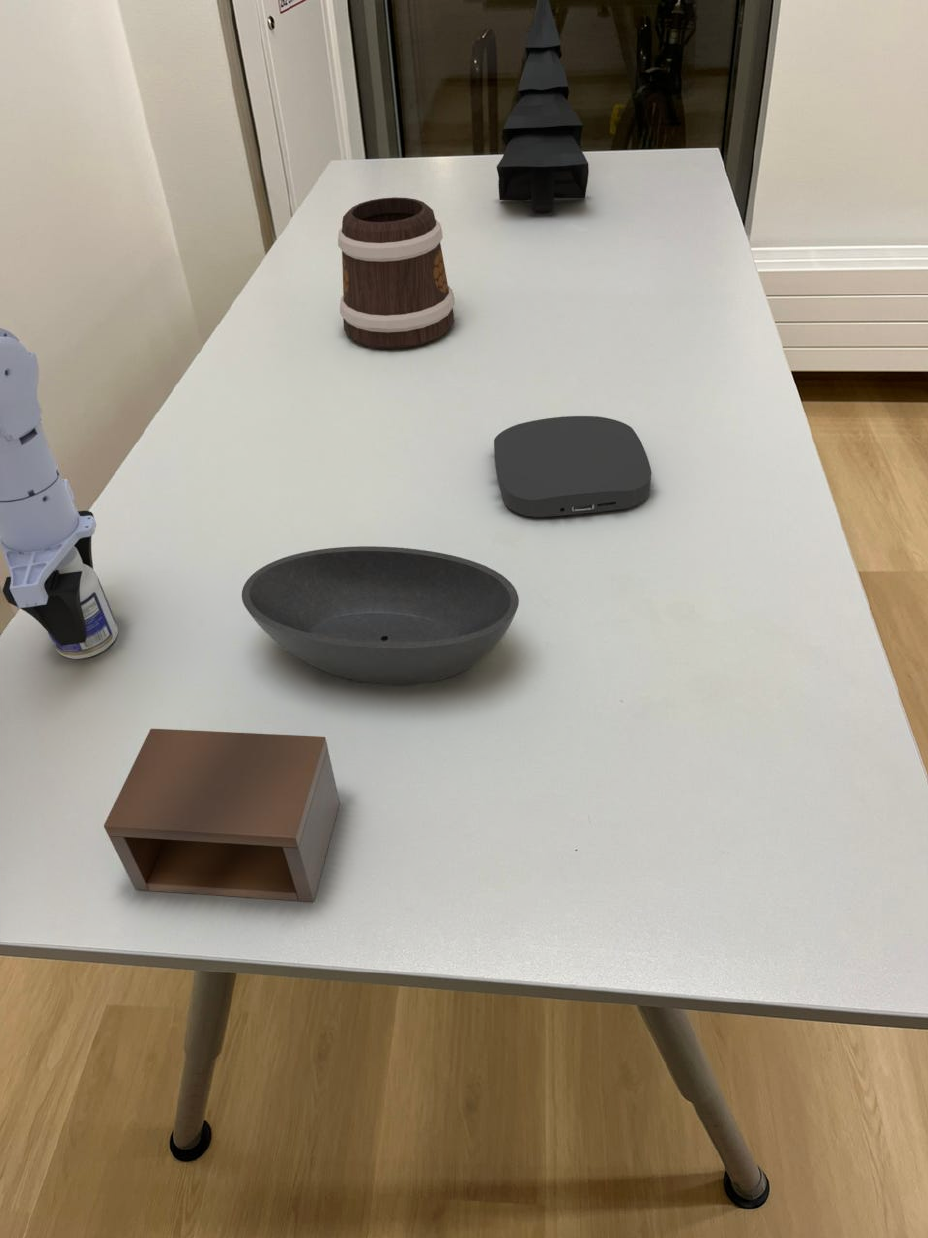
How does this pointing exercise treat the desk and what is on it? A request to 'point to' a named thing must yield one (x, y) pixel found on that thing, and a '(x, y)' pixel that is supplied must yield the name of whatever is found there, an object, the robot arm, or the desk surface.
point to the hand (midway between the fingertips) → (78, 618)
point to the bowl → (382, 611)
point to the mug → (394, 274)
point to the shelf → (226, 814)
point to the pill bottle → (89, 611)
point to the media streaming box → (571, 466)
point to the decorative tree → (542, 127)
